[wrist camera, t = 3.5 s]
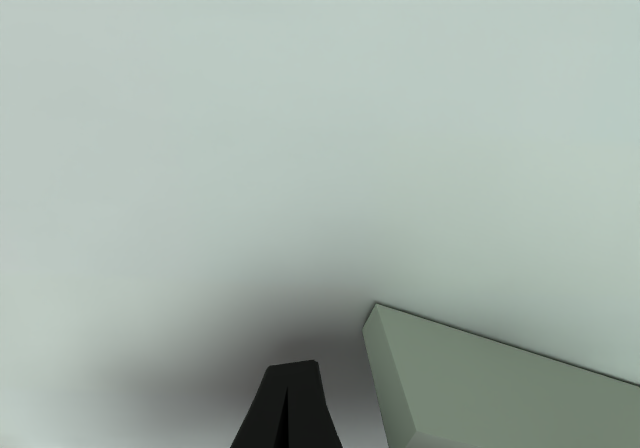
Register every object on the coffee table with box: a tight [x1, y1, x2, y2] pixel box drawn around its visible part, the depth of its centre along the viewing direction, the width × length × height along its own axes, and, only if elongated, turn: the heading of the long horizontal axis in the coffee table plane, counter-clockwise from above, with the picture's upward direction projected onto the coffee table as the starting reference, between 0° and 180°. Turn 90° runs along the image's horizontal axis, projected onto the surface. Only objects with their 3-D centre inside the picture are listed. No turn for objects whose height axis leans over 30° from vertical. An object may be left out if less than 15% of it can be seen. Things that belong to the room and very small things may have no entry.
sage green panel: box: [362, 304, 640, 448], centre depth 10 cm, size 16×1×4 cm, turn 69°
